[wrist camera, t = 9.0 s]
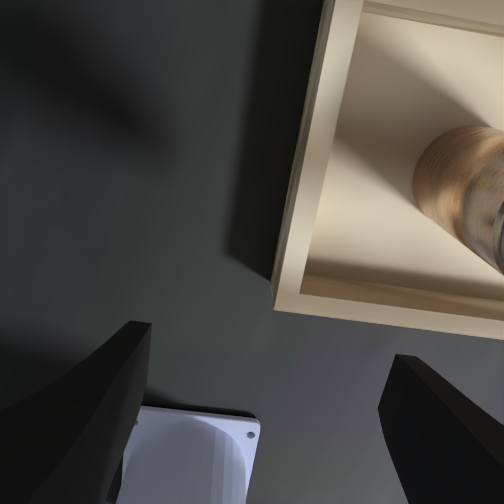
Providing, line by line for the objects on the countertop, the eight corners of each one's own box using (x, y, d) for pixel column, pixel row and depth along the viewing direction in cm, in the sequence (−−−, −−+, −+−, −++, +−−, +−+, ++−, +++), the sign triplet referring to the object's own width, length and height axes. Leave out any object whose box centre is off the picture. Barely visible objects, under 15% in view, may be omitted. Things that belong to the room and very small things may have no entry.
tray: (552, 319, 24) (592, 351, 22) (270, 281, 23) (274, 309, 20) (681, 46, 19) (755, 41, 17) (327, -20, 18) (343, -38, 15)
